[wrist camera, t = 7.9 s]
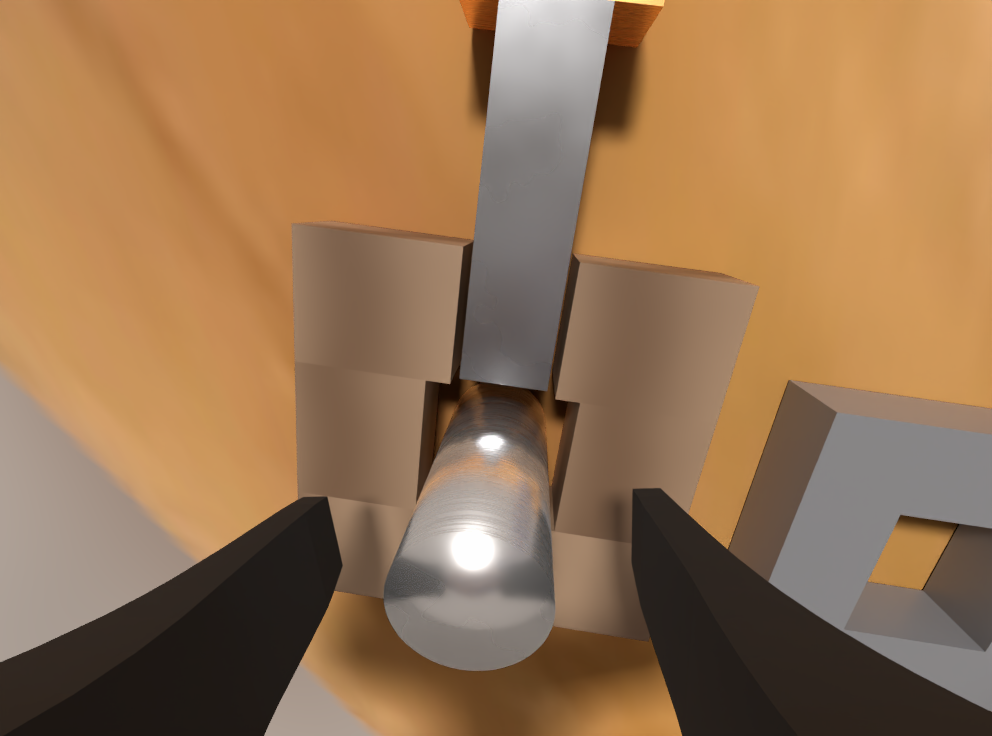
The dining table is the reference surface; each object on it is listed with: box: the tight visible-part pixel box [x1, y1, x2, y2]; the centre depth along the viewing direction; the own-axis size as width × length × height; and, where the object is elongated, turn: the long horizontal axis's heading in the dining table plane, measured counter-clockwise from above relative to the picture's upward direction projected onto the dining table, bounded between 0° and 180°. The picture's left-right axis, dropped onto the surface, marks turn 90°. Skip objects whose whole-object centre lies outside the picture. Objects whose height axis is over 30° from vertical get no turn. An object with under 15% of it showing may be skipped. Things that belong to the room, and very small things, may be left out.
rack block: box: [729, 380, 992, 712], centre depth 15 cm, size 10×10×2 cm
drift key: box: [459, 0, 664, 391], centre depth 12 cm, size 4×10×3 cm, turn 173°
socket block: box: [292, 221, 759, 642], centre depth 15 cm, size 12×12×2 cm
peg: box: [383, 382, 556, 671], centre depth 12 cm, size 3×3×8 cm
